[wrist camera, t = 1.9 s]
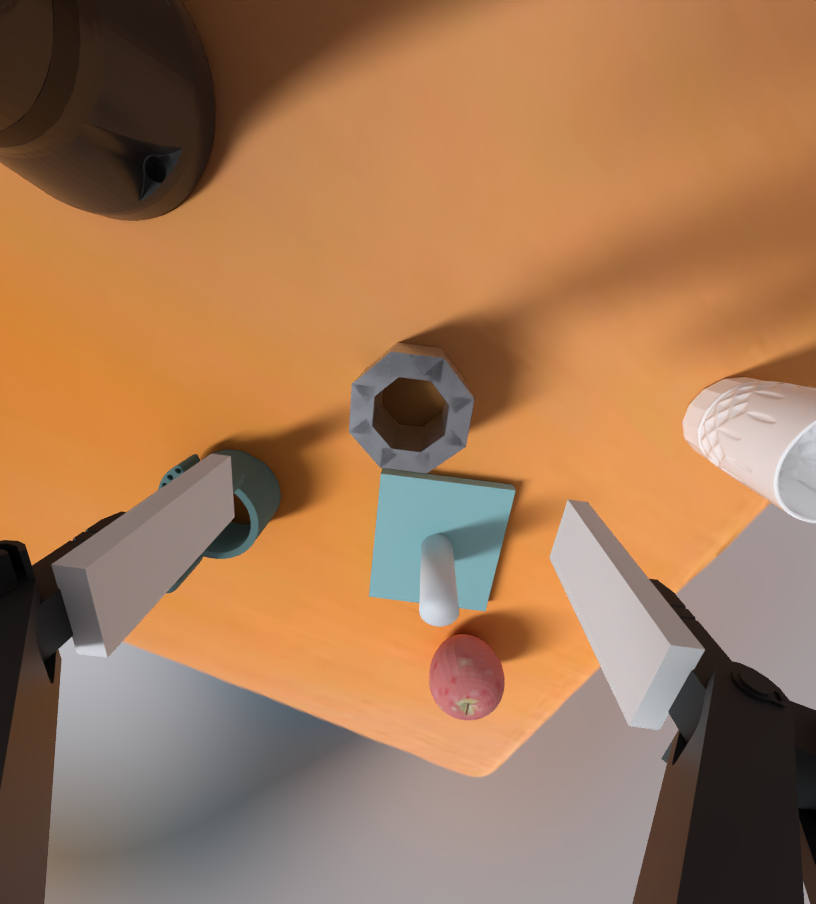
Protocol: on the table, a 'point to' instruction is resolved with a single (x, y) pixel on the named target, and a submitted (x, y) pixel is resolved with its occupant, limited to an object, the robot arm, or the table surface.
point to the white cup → (760, 438)
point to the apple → (466, 677)
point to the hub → (408, 442)
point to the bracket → (254, 491)
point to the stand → (438, 541)
